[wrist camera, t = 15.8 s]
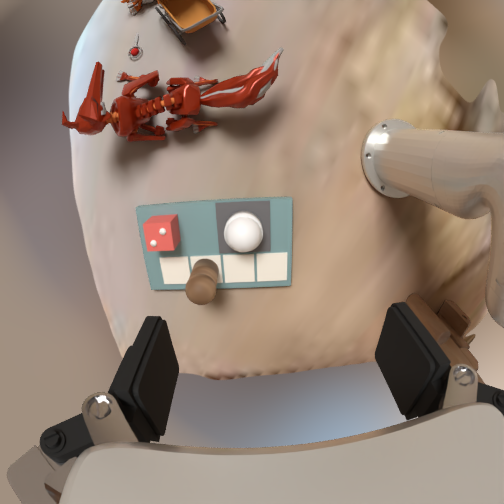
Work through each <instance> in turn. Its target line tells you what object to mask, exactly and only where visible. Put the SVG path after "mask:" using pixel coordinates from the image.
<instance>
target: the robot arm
mask: <svg viewBox="0 0 504 504" xmlns="http://www.w3.org/2000/svg"><path fill="white" fill-rule="evenodd" d="M382 125H383V128H382ZM366 154H367V157H366ZM361 159H362V166H363V170H364V173H365V175H366V177H367V179H368V181H369V182H370V184H371V185H372V186H373V187H374V188H375V189H376V190H377V191H379V192H380V193H382V194H384V195H386V196H388V197H392V198H403V197H407V196H409V195H411V196H413V197H416V198H418V199H420V200H423V201H425V202H427V203H429V204H431V205H433V206H436V207H438V208H440V209H442V210H444V211H446V212H448V213H450V214H453V215H455V216H457V217H459V218H463V219H476V218H479V217H482V216H484V215H486V214H487V213H489V212H491V247H490V256H489V265H488V272H487V280H486V289H485V300H486V305H487V309H488V311H489V313H490V315H491V317H492V318H493V319H494V320H495V321H496V322H497V323H498V324H499V325H500V326H502V327H503V328H504V133H480V132H467V131H452V130H436V129H416V128H415V127H414V126H412V125H411V124H410V123H408V122H406V121H403V120H400V119H387V120H383V121H381V122H379V123H377V124H375V125H374V126H373V127H372V128H371V129H370V131H369V132H368V133H367V135H366V137H365V139H364V142H363V146H362V154H361ZM381 186H382V187H381ZM375 359H376V361H377V363H378V365H379V367H380V369H381V372H382V373H383V376H384V378H385V380H386V382H387V384H388V386H389V388H390V390H391V393H392V395H393V397H394V399H395V401H396V403H397V405H398V408H399V410H400V412H401V414H402V415H405V417H406V419H407V420H410V419H413V418H416V417H417V416H418V418H416V419H413V420H410V421H406V422H403V423H400V424H397V425H393V426H390V427H386V428H383V429H379V430H375V431H372V432H368V433H363V434H359V435H354V436H350V437H344V438H339V439H334V440H328V441H322V442H315V443H308V444H299V445H291V446H279V447H262V448H206V447H188V446H176V445H166V444H155V443H150V441H156V442H159V439H160V435H161V436H163V435H164V434H165V430H166V425H167V421H168V416H169V412H170V407H171V403H172V399H173V394H174V390H175V386H176V382H177V378H178V373H179V365H178V362H177V358H176V355H175V351H174V348H173V345H172V341H171V337H170V334H169V330H168V326H167V323H166V321H165V320H162V318H161V317H160V316H147V317H146V319H145V321H144V323H143V325H142V327H141V329H140V331H139V333H138V335H137V337H136V339H135V341H134V344H133V346H130V347H129V348H128V349H127V351H126V353H125V355H124V358H123V360H122V362H121V364H120V366H119V368H118V371H117V373H116V375H115V378H114V380H113V382H112V384H111V386H110V389H109V391H108V393H105V392H97V393H94V394H92V395H90V396H88V398H86V399H85V401H84V403H83V404H82V413H81V414H79V415H77V416H75V417H72V418H70V419H68V420H66V421H64V422H61V423H59V424H57V425H55V426H52V427H50V428H48V429H47V430H45V431H44V432H43V434H42V436H41V437H40V446H38V447H37V446H34V447H32V448H31V449H30V450H29V451H28V452H26V453H25V454H24V455H23V456H22V457H20V458H19V459H18V460H17V461H16V462H15V463H13V464H12V465H11V466H10V467H9V468H8V471H7V478H8V481H9V483H10V485H11V487H12V488H13V490H14V492H15V493H16V495H17V496H18V498H19V499H20V501H21V503H22V504H504V390H501V389H498V388H495V387H492V386H489V385H486V384H483V383H480V382H478V376H477V373H476V372H475V370H474V369H473V368H471V367H470V366H468V365H466V364H456V365H454V366H453V367H451V366H450V363H451V361H450V360H449V358H448V357H447V356H446V354H445V353H444V352H443V350H442V349H441V347H440V346H439V345H438V343H437V342H436V341H435V339H434V338H433V337H432V335H431V334H430V333H429V331H428V330H427V329H426V328H425V326H424V325H423V324H422V322H421V321H420V320H419V319H418V317H417V316H416V315H415V314H414V312H413V311H412V310H411V309H410V307H409V306H408V305H407V304H406V303H405V302H399V303H393V304H392V305H391V307H389V308H388V310H387V314H386V318H385V321H384V325H383V328H382V332H381V335H380V338H379V342H378V345H377V348H376V351H375Z"/></svg>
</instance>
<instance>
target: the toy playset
mask: <svg viewBox="0 0 504 504" xmlns="http://www.w3.org/2000/svg"><path fill="white" fill-rule="evenodd" d="M153 1H154V0H123V1H121V2H122V3H125V2H127V3H128V7H129V8H130V9H129V11H130V12H131V14H132V15H135V14H136V13H137V12H138V11H139V10H140V9H141V8H142V6H141V3H143V4H145V3H150V2H153ZM157 1H158V4H159V6H160V7H161V8H164V9H165V14H164V15H163V14H162V12H161V11H160V10H159V9H158V8H157V7H156V8H155V9H156V10H157V11H158V13H159V14H160V15H161V16H162V18H163V19H164V20H165V21H166V23H167V24H168V25H169V26H170V27H171V29H172V30H173V31H174V32H175V34H176V35H177V36H178V38H179V39H180V40H181V42H182V43H183V44H184V45H186V43H185V41H184V40H183V39H182V37H181V36H180V34H182V33H183V32H186V33H187V34H188V33H193V32H195V31H197V30H199V29H200V28H202V27H204V26H206V25H208V24H210V23H212V22H213V21H214V20H215V19H216V18H218V19H219V20H220V21H221V22H222V23H225V22H226V20H225V17H224V15H223V14H222V11H223V10H224V9H223V7H221V6H219V5H217V4H215V3H213V2H211V1H210V0H157ZM138 2H139V3H138ZM137 3H138V6H134V5H136V4H137ZM132 6H134V7H132ZM131 7H132V8H131ZM219 8H220V9H219ZM216 9H217V11H216ZM166 12H167V13H166ZM168 14H169V16H170V17H171V18H172V19H173V20H172V19H171V18H170V17H169V16H168ZM218 14H220V15H221V17H222V19H223V20H222V19H221V18H220V17H219V16H218ZM165 16H167V17H168V18H169V19H170V20H171V22H172V23H173V24H174V25H175V27H176V28H177V29H178V31H179V33H178V32H177V31H176V30H175V28H174V27H173V26H172V25H171V24H170V23H169V21H168V20H167V19H166V17H165ZM179 29H180V30H181V31H180V30H179ZM138 38H139V36H138V33H137V34H136V36H135V46H134V47H132V48H131V49H130V50H129V52H128V56H129V53H130V51H131V54H132V55H133V56H135V55H137V54H138V53H139V50H138V49H137V48H135V47H140V46H137V42H138ZM133 48H134V49H133ZM140 49H141V50H140V53H139V54H138V55H137V56H139V55H140V54H141V52H142V48H141V47H140ZM283 50H284V49H283V48H281V47H280V48H279V49H278V50H277V51H276V52H275V53H273V54H272V55H271V56H270V57H269V58H268V59H267V60H266V61H265V62H264V63H263V64H262V66H261V67H258V68H255V69H252V70H251V71H250V72H249V73H248V74H247V75H242V76H236V77H233V78H231V79H228V80H225V81H223V82H220V83H218V84H216V85H215V86H213V87H211V88H210V89H208V90H207V91H206V92H205V93H203V94H202V95H201V92H200V89H199V87H198V86H201V85H200V84H203V85H207V83H209V84H214V82H215V83H216V82H218V81H216V80H218V79H215V80H206V79H203V78H202V77H199V76H195V77H194V82H193V81H192V80H191V79H189V78H170V79H169V80H168V81H167V83H166V84H167V85H170V86H168V88H167V91H168V92H169V94H170V95H169V94H165V95H163V98H164V99H163V101H162V97H160V96H159V97H157V98H155V99H152V100H150V101H148V99H141V98H136V96H134V93H135V92H137V89H139V88H141V87H142V86H144V85H146V84H147V83H148V85H149V86H150V87H155V86H156V85H157V84H158V81H159V73H158V71H157V70H156V71H154V72H152V73H149V74H147V75H141V76H139V77H132V76H128V75H127V74H126V73H125V72H123V71H119V73H118V75H117V77H116V81H123V80H125V79H126V80H132V82H129V83H127V84H125V85H124V88H123V91H122V96H120V97H118V98H116V99H115V100H114V101H113V103H112V106H111V110H110V113H109V112H108V111H106V108H105V105H104V103H103V102H102V94H103V81H104V70H102V64H101V63H99V62H96V65H95V68H94V71H93V75H92V78H91V82H90V85H89V89H88V93H87V97H86V98H85V99H84V101H83V103H82V105H81V106H80V109H79V112H78V115H77V118H76V120H75V122H69V121H67V119H66V116H65V115H64V112H63V115H62V116H63V117H62V125H64V126H66V127H68V128H71V129H73V128H75V129H76V130H77V131H78V132H79V133H80V134H85V135H95V134H97V133H99V132H102V130H103V129H104V127H105V126H106V125H107V124H108V123H111V125H112V127H113V129H114V131H115V132H116V134H117V135H118V136H120V137H127V141H129V142H132V141H144V140H165V139H166V136H164V134H165V131H164V127H161V126H158V125H157V126H156V128H155V127H152V126H149V125H145V123H146V122H148V121H149V120H150V117H151V116H155V115H157V114H158V113H162V112H164V111H165V108H164V106H165V107H166V110H167V111H169V113H171V114H180V115H182V117H181V119H180V120H174V118H168V120H166V124H167V126H168V127H166V130H167V131H180V130H183V129H186V128H189V127H190V126H191V125H193V130H194V131H193V132H194V133H198V132H200V131H202V130H203V129H205V128H207V127H210V126H217V123H215V122H213V123H212V122H210V121H199V122H196V121H194V119H192V118H188V117H187V116H188V115H198V114H199V112H200V108H201V105H206V106H210V107H218V108H220V107H232V108H245V107H247V106H248V105H254V104H255V103H256V102H258V101H259V100H261V99H262V98H264V96H265V93H266V91H267V90H268V89H269V88H270V86H271V85H272V84H273V83H274V81H275V79H276V78H277V76H278V62H279V57H280V55H281V54H282V52H283ZM137 56H135V57H137ZM129 57H130V56H129ZM135 57H130V58H135ZM174 85H177V86H174ZM183 116H184V117H183ZM139 128H142V129H145V130H148V131H152V132H154V134H155V135H148V134H142V133H138V132H137V130H138V129H139ZM161 134H162V135H161Z"/></svg>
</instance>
